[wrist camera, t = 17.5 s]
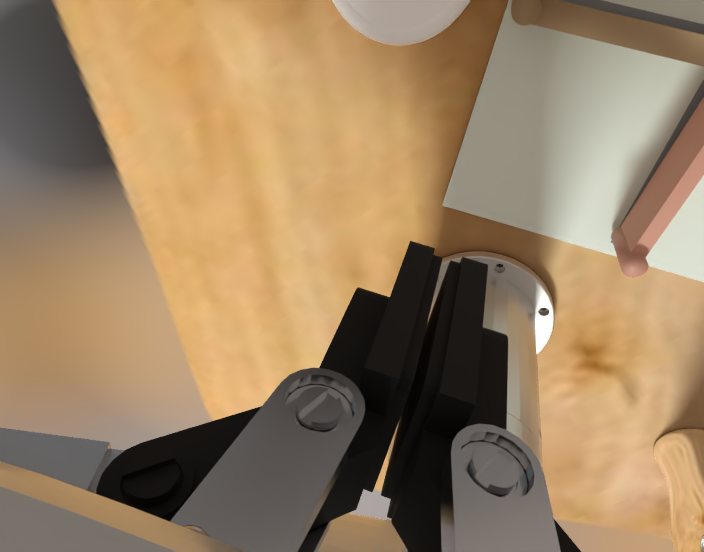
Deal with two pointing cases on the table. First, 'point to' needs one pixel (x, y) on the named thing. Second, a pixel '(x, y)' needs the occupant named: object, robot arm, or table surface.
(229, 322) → the table surface
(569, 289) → the table surface
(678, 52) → the fixed panel
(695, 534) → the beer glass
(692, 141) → the panel
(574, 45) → the board
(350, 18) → the white short round cylinder
